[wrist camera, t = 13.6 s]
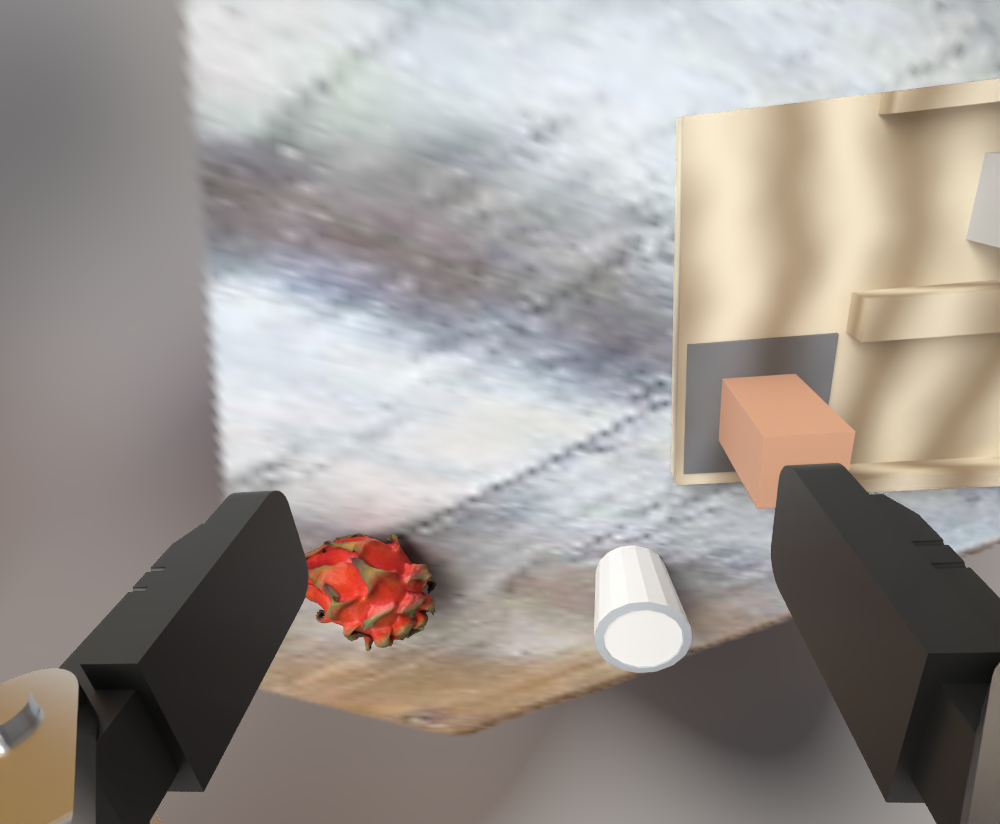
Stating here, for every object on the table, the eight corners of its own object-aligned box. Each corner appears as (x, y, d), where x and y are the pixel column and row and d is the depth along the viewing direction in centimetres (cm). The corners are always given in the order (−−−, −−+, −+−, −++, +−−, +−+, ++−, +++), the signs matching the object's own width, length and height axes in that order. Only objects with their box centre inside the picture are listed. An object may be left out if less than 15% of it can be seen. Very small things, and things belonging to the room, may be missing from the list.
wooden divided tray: (670, 470, 43) (684, 509, 39) (676, 117, 33) (696, 114, 29) (1024, 451, 40) (1084, 491, 36) (1146, 61, 30) (1249, 48, 26)
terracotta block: (718, 440, 39) (756, 508, 32) (722, 378, 37) (763, 436, 30) (788, 436, 39) (843, 505, 32) (795, 373, 37) (855, 431, 30)
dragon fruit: (454, 573, 51) (329, 523, 52) (458, 547, 43) (312, 490, 44) (414, 672, 47) (280, 617, 48) (411, 663, 39) (251, 597, 40)
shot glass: (683, 593, 48) (703, 663, 42) (602, 612, 50) (610, 682, 43) (660, 529, 45) (678, 592, 39) (576, 551, 47) (581, 616, 41)
